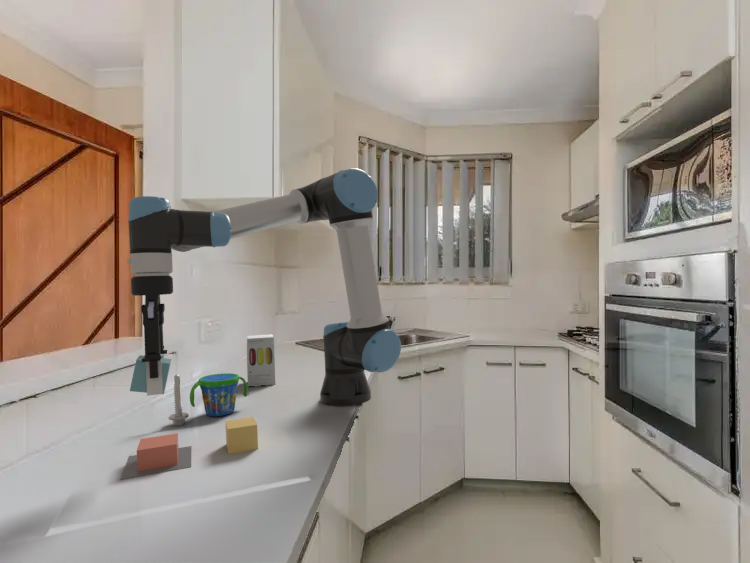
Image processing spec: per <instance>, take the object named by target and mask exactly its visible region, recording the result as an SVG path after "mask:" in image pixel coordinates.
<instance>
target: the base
mask: <svg viewBox="0 0 750 563" xmlns="http://www.w3.org/2000/svg"><path fill="white" fill-rule="evenodd" d="M124 467H125V468H124V470H123V472H122V475H121V478H120V480H121V481H123V480H128V479H133V478H139V477H145V476H151V475H156V474H161V473H166V472H167V473H168V472H173V471H179V470H184V469H189V468H190V469H191V468H192V445H189V446H184V447H183V446H182V447H179V433H176V432H175V433H170V434H163V435H157V436H150V437H143V438H140V439H139V443H138V445H137V448H136V454H135V455H129V456H128V458H127V462H126V464H125V466H124Z"/></svg>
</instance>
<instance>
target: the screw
mask: <svg viewBox="0 0 750 563" xmlns="http://www.w3.org/2000/svg"><path fill="white" fill-rule="evenodd" d="M173 381H174V384H173V385H174V386H173V388H174V389H173V392H174V393H173V395H174V398H173V400H174V413H172V414H170V415H169V416H168V420H169V421H172V425H173V426H175V427H179V426H183V425H184V424H185V423H186V419H187V418H189V417H190V415H189V413H187V412H183V400H182V399H183V398H182V397H183V396H182V384H181V376H180V375H179V374H175V375H174V378H173Z"/></svg>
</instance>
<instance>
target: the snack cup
mask: <svg viewBox="0 0 750 563" xmlns="http://www.w3.org/2000/svg"><path fill="white" fill-rule="evenodd" d="M240 380H241V381H242V383H243V389H242V395H243V397H247V396H248V393H249V389H248V388H249V387H248V382H247V381H246V379H245V378H244V377H242V376H240V375H239V374H236V373H229V372H228V373H225V372H224V373H215V374H209V375H204V376H202V377H199V379H198V381H196V382H195V383H194V384H193V386H192V387H191V389H190V392H189V403H190V405H191V407H193V408H195V406H196V405H195V390H196V389H197V388H199V387H200V390H201V395H202V401H203V406H204V411H205V415H206V416H207V417H208V416H209V417H213V416H214V417H218V416H219V417H223V415H224V416H226V415H230V414H231V413H232V414H233V412H234V411H235V408H236V400H237V390H238V385H239V381H240Z"/></svg>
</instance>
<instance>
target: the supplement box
mask: <svg viewBox="0 0 750 563" xmlns="http://www.w3.org/2000/svg"><path fill="white" fill-rule="evenodd" d="M275 362H276V360H275V337H274V335H273V334H271V333H270V334H256V335H255V334H254V335H253V334H252V335H247V336H246V367H247V368H246V371H247V374H246V376H247V387H248V388H250V387H249V386H255V387H262V386H261V385H266V386H275V385H276V365H275V364H276V363H275Z"/></svg>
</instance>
